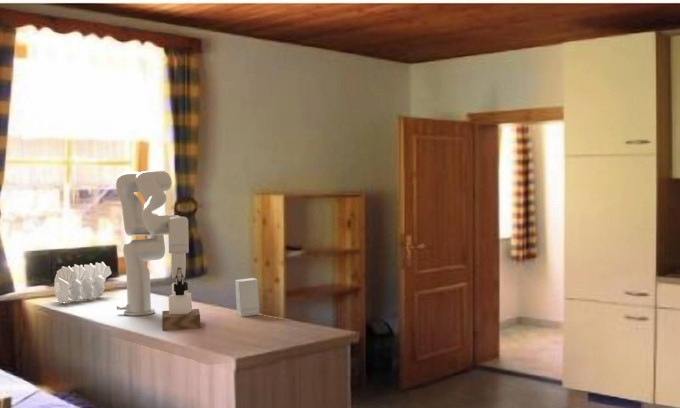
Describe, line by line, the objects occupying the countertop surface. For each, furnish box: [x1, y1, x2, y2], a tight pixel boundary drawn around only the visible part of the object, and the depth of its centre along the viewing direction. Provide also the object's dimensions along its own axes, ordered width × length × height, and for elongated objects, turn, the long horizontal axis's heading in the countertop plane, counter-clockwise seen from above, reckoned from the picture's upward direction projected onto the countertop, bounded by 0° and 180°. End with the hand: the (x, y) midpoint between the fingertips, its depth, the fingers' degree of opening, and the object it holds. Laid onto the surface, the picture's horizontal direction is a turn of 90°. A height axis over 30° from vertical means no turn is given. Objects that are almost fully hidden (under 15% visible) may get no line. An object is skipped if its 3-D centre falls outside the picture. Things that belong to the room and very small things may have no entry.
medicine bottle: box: [168, 281, 193, 315], centre depth 282 cm, size 7×7×12 cm
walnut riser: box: [161, 308, 201, 332], centre depth 282 cm, size 14×14×5 cm
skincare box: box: [234, 277, 260, 318], centre depth 301 cm, size 8×6×15 cm
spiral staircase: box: [53, 261, 112, 303], centre depth 350 cm, size 18×18×25 cm
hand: (179, 292), depth 282 cm, fingers open, 9 cm apart
